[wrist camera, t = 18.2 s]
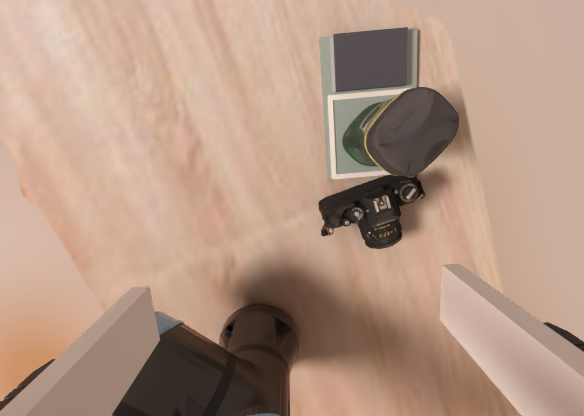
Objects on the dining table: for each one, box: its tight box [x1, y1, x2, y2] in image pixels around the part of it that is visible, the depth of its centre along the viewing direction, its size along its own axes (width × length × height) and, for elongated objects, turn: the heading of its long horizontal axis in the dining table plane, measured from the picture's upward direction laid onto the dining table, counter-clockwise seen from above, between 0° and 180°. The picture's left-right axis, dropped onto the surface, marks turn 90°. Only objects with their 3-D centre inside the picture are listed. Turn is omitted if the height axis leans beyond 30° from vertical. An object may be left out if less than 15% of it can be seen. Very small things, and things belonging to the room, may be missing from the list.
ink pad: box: [330, 27, 408, 92], centre depth 44 cm, size 12×8×1 cm
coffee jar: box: [342, 87, 459, 176], centre depth 38 cm, size 10×8×19 cm
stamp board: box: [320, 29, 418, 180], centre depth 47 cm, size 15×22×1 cm
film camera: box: [319, 174, 425, 249], centre depth 46 cm, size 18×12×10 cm
